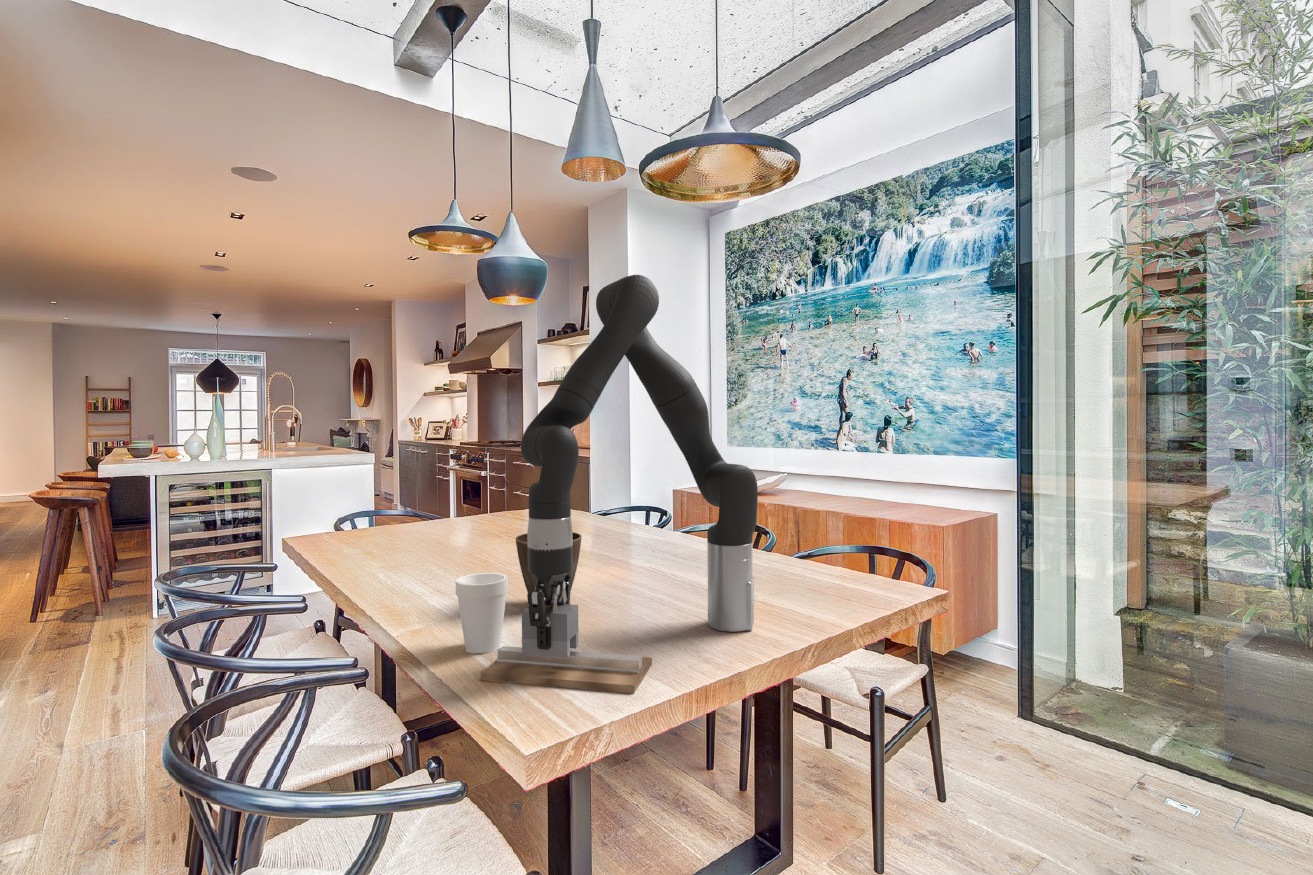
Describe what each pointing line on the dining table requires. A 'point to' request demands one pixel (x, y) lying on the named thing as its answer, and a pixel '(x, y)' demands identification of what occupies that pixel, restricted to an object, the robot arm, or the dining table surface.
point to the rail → (574, 660)
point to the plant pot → (523, 559)
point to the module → (553, 632)
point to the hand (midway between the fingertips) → (551, 642)
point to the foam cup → (482, 610)
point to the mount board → (567, 676)
